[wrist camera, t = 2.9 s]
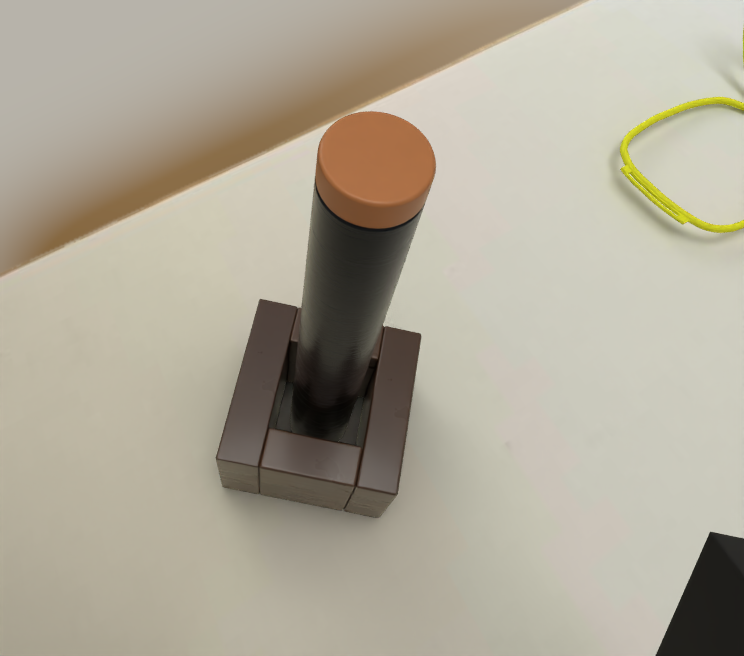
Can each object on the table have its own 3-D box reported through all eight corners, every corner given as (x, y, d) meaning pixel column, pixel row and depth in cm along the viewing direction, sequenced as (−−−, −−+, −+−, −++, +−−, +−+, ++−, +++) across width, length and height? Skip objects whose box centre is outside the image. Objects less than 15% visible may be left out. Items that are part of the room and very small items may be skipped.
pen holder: (222, 487, 26) (215, 459, 22) (260, 343, 29) (259, 298, 25) (379, 518, 26) (397, 495, 23) (402, 374, 29) (422, 332, 25)
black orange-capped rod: (283, 448, 27) (306, 189, 12) (295, 396, 28) (330, 98, 13) (339, 460, 27) (428, 217, 12) (349, 407, 28) (443, 124, 13)
